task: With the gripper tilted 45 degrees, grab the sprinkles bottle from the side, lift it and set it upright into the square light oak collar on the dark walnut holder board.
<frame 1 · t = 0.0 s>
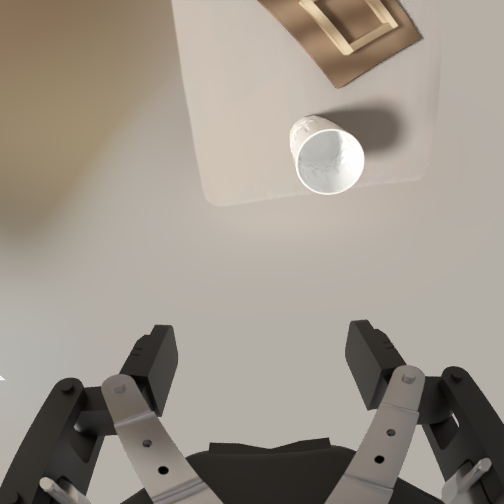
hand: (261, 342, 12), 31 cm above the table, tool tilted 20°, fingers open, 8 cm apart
white cup: (312, 137, 37), on the table
holder board: (344, 14, 25), on the table
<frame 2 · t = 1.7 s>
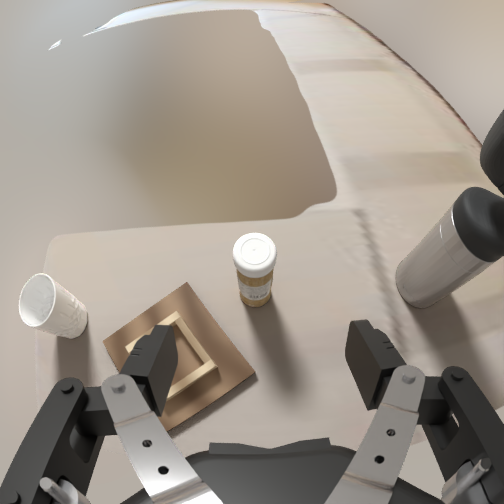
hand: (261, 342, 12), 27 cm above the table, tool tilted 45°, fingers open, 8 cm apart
sprinkles bottle: (254, 293, 41), on the table
white cup: (73, 319, 39), on the table
holder board: (174, 359, 37), on the table
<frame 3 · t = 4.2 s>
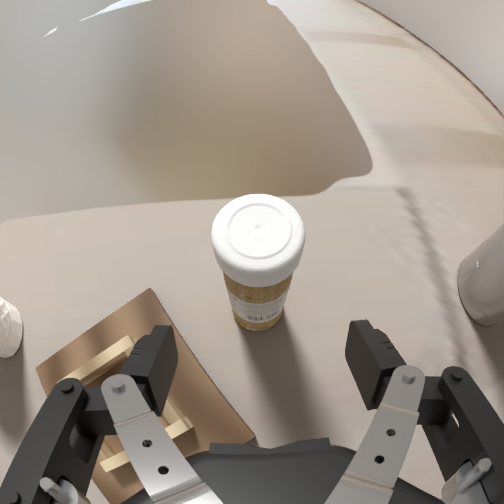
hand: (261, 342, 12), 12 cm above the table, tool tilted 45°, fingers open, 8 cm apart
sprinkles bottle: (256, 308, 25), on the table
white cup: (8, 332, 23), on the table
holder board: (129, 406, 21), on the table
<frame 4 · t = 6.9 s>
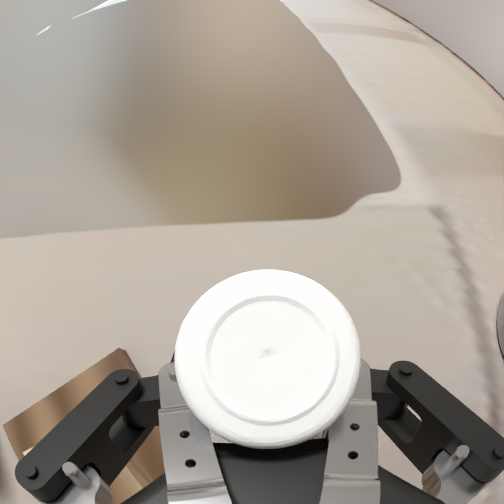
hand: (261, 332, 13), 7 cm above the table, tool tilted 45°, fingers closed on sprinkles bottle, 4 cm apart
sprinkles bottle: (259, 377, 18), on the table, touching gripper
holder board: (107, 481, 14), on the table
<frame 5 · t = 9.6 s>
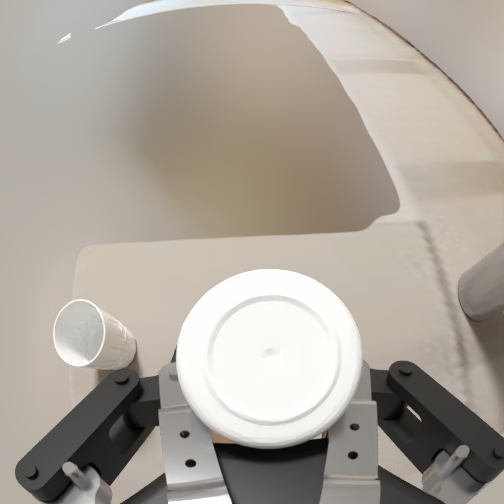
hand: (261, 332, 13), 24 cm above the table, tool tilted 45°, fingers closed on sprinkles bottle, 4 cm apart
sprinkles bottle: (259, 377, 18), point 17 cm above the table, touching gripper
white cup: (116, 347, 35), on the table
when the fingers open (9 cm above the table, at t = 12.7 s): sprinkles bottle stays where it is, resting on holder board.
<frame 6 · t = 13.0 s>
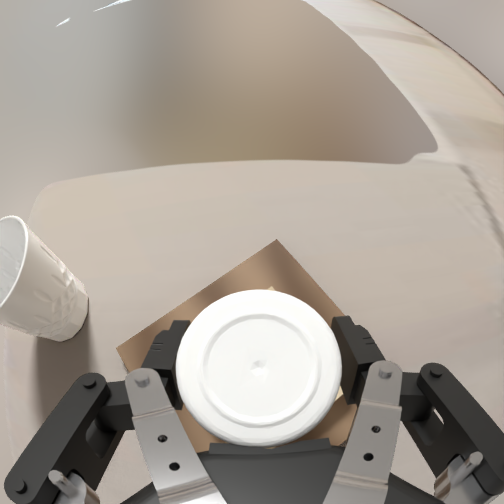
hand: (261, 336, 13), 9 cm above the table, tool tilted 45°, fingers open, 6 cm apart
sprinkles bottle: (256, 380, 19), point 1 cm above the table, touching holder board
white cup: (63, 308, 22), on the table
holder board: (259, 378, 20), on the table
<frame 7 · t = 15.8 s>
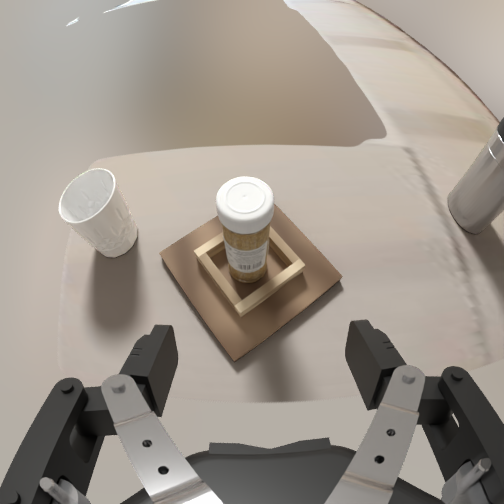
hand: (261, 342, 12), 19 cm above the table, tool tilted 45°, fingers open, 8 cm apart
sprinkles bottle: (247, 267, 34), point 1 cm above the table, touching holder board
white cup: (117, 237, 37), on the table
holder board: (249, 269, 35), on the table
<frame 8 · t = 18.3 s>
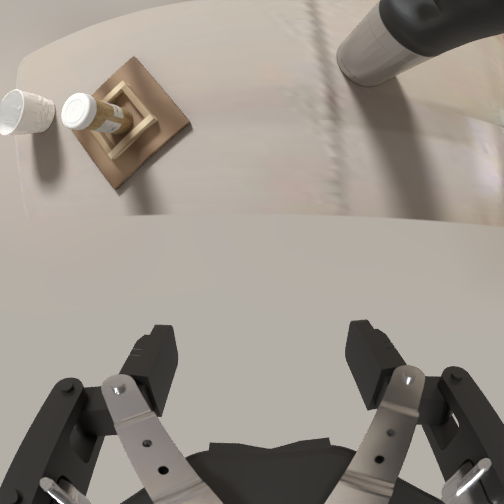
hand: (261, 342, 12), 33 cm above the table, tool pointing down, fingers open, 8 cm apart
sprinkles bottle: (120, 121, 38), point 1 cm above the table, touching holder board
white cup: (43, 115, 37), on the table
holder board: (124, 120, 39), on the table
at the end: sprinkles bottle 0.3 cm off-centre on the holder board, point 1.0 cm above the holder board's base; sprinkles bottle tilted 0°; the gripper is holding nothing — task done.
